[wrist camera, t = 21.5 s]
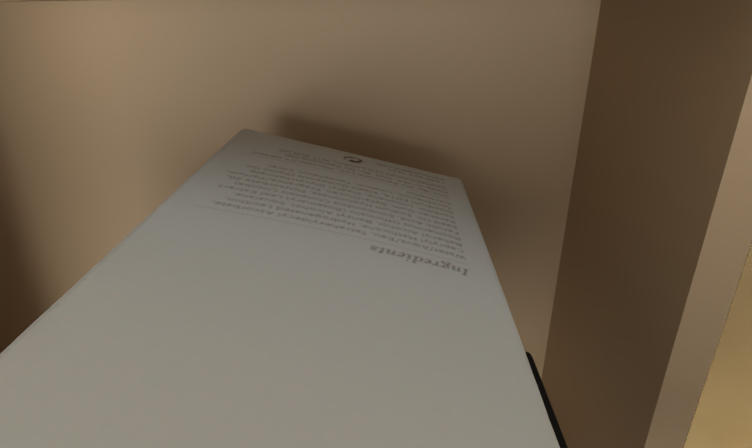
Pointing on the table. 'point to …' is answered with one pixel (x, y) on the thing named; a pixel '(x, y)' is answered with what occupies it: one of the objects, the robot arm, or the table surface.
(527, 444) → the small box
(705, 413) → the table surface
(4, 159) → the tray
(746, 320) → the table surface
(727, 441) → the table surface
